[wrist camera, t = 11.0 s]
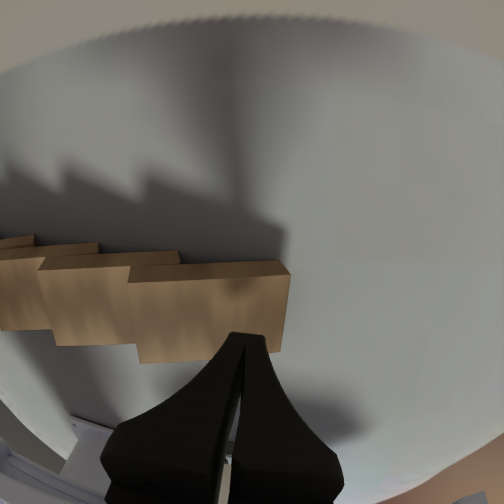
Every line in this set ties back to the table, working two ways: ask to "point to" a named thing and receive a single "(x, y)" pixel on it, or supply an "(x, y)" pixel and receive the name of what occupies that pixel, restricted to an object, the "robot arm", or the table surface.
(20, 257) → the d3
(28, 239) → the d4
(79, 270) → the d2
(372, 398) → the table surface
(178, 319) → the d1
